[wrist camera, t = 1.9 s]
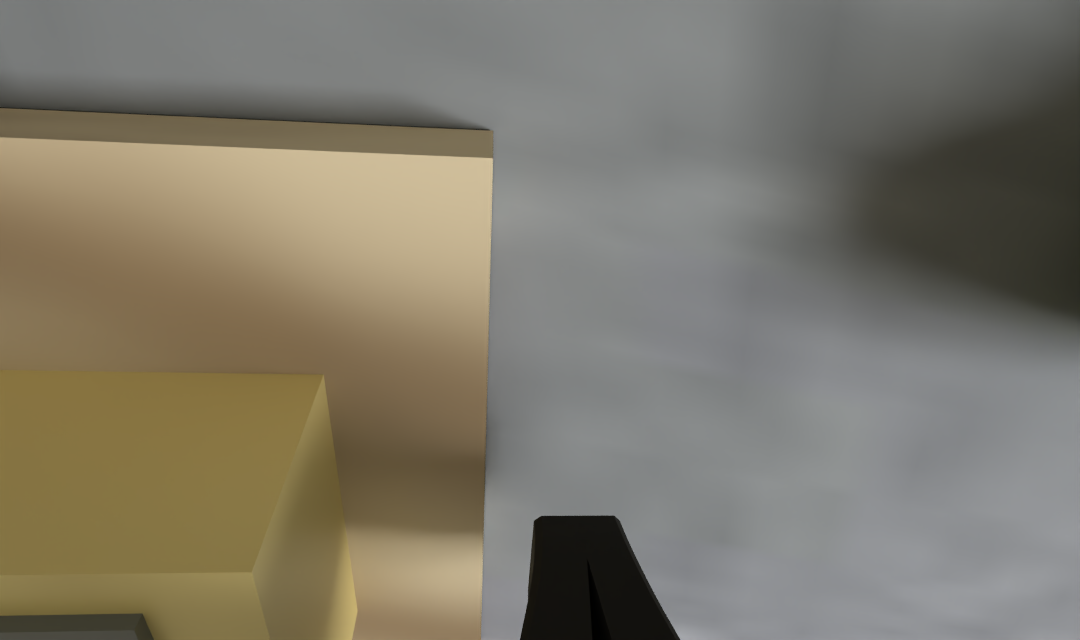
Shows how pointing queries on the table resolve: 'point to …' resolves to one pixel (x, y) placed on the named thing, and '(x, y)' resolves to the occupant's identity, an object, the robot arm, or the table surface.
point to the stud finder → (170, 508)
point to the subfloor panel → (282, 305)
